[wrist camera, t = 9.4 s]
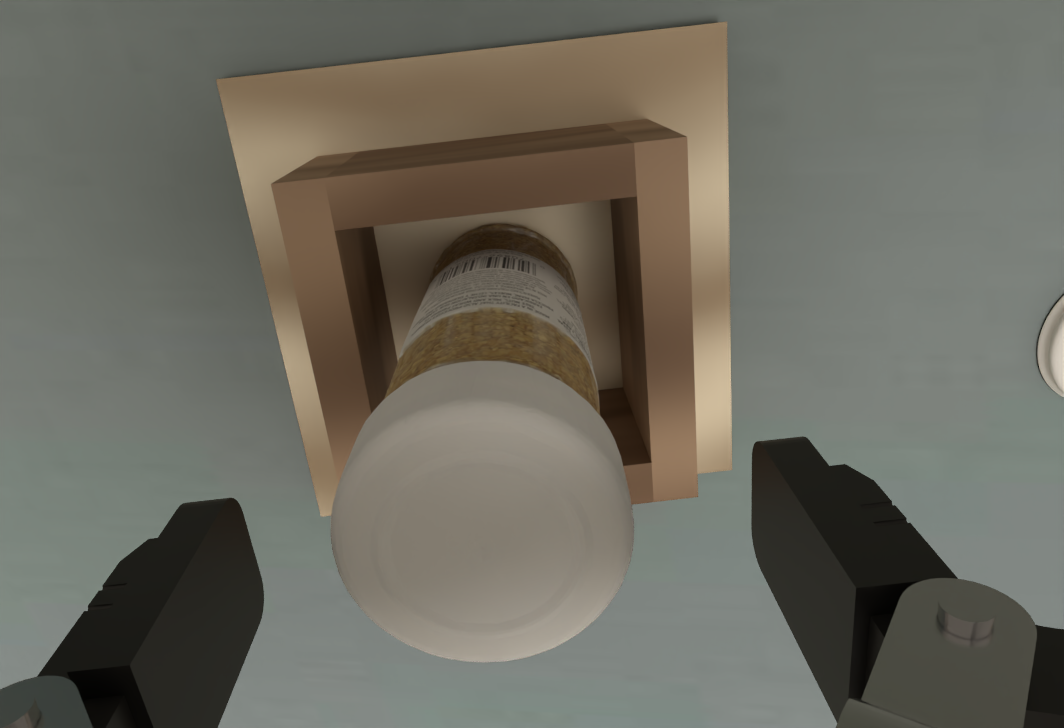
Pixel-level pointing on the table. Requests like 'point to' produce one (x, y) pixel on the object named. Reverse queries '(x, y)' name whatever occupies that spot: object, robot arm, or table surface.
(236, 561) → the robot arm
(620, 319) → the socket
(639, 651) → the table surface
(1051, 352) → the chess piece
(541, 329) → the sprinkles bottle
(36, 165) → the table surface
